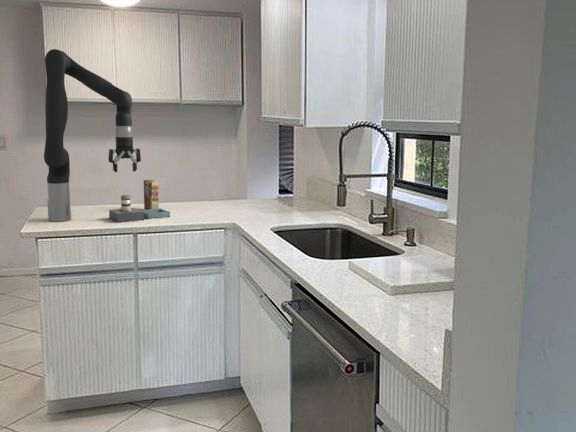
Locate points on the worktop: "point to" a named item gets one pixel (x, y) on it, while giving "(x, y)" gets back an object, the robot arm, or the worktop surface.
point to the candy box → (151, 194)
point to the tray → (155, 213)
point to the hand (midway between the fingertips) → (125, 171)
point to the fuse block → (126, 215)
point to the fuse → (125, 203)
